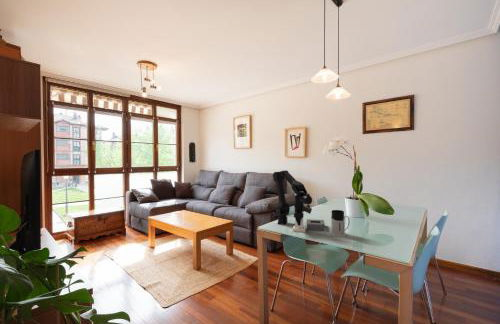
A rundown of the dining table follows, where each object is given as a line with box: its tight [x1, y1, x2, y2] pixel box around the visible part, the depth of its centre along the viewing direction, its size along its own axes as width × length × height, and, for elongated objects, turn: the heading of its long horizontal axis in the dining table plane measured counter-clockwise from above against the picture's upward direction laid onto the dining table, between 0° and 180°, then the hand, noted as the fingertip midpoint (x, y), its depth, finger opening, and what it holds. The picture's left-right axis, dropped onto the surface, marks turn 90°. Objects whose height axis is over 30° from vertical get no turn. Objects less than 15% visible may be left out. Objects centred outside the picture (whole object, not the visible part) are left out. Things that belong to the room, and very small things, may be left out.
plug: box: [294, 217, 304, 229], centre depth 161 cm, size 5×4×9 cm
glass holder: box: [330, 209, 351, 238], centre depth 148 cm, size 9×14×15 cm, turn 20°
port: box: [306, 218, 326, 231], centre depth 166 cm, size 12×12×5 cm
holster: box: [292, 225, 306, 233], centre depth 161 cm, size 8×7×2 cm
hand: (299, 224), depth 161 cm, fingers closed on plug, 3 cm apart
